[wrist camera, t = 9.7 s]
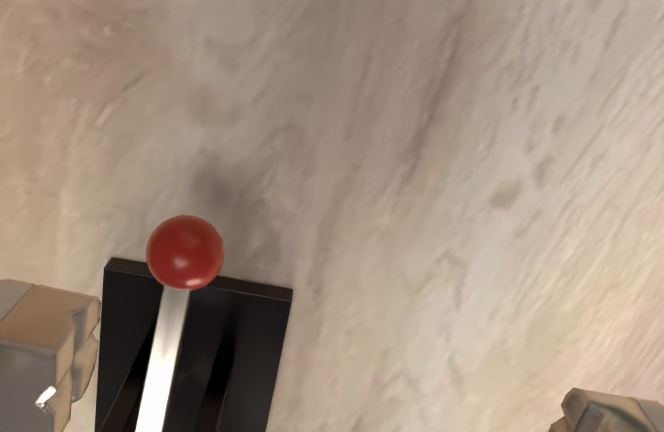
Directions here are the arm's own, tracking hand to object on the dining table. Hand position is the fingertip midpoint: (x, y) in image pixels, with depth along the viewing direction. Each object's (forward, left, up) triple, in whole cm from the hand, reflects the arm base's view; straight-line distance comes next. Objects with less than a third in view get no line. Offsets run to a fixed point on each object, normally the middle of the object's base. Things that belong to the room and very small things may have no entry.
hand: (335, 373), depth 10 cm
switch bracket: (+7, -16, -21) cm, 27 cm away
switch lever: (+4, -13, -13) cm, 19 cm away
